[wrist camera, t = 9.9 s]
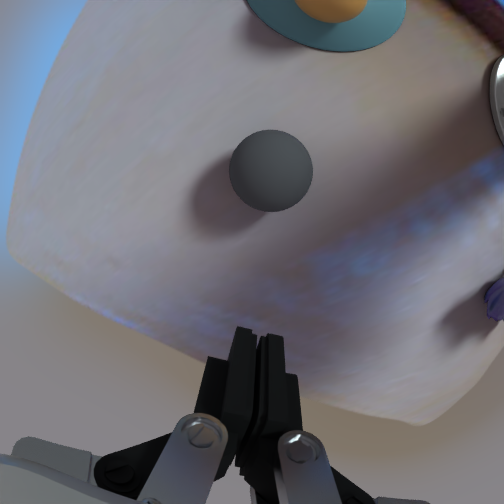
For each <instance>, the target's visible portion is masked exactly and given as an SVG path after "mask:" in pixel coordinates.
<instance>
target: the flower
mask: <svg viewBox="0 0 504 504" xmlns="http://www.w3.org/2000/svg"><path fill="white" fill-rule="evenodd" d="M484 300H485V303H486V302H488V305H487V317H488V319H490V318H491V317H492V318H493V319H494V320H495V321H498V320H502V319H503V321H504V278H501V279H499V280H498V281H497V282H496V283H494V285H493V286H492V287H491V288H490V289H489V290H488V291H487V292H486V294H485V299H484Z"/></svg>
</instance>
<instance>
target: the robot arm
mask: <svg viewBox="0 0 504 504" xmlns="http://www.w3.org/2000/svg"><path fill="white" fill-rule="evenodd" d="M490 104H491V109H492V115H493V119H494V122H495V126H496V129H497V132H498V134H499V137H500V139H501V141H502V143H503V145H504V55H503V56H501V57H499V59H498V60H497V61H496V63H495V64H494V67H493V69H492V73H491V78H490ZM256 346H257V335H255V334H252V330H251V329H247V328H243V327H238V326H237V328H236V331H235V335H234V339H233V342H232V346H231V349H230V353H229V357H228V360H227V361H226V360H222V359H218V358H214V357H210V356H208V359H207V363H206V366H205V371H204V374H203V378H202V382H201V386H200V390H199V394H198V398H197V402H196V406H195V410H194V413H193V414H189V415H186V416H184V417H183V418H181V419H180V420H179V422H178V423H177V425H176V427H175V428H174V430H173V432H172V433H169V434H166V435H164V436H161V437H158V438H156V439H153V440H150V441H148V442H144V443H142V444H139V445H136V446H133V447H130V448H127V449H124V450H121V451H118V452H114V453H111V454H108V455H106V456H104V457H101V456H96V455H92V454H91V452H89V451H84V450H79V449H75V448H71V447H67V446H63V445H59V444H56V443H52V442H48V441H45V440H42V439H38V438H35V437H25V438H21V439H20V440H18V441H17V442H16V444H15V445H14V447H13V450H12V454H11V455H6V454H0V504H205V503H206V500H207V498H208V495H209V492H210V489H211V486H212V484H213V482H214V481H216V480H218V479H220V478H222V477H224V476H225V474H226V471H227V469H228V467H229V465H231V463H232V461H233V459H234V457H235V455H236V458H235V466H236V467H240V475H242V476H244V480H245V481H246V482H247V483H248V484H249V485H250V496H251V504H430V503H428V502H426V501H422V500H408V499H395V498H386V497H377V498H376V499H374V498H372V497H371V496H370V495H369V494H367V493H366V492H365V491H363V490H362V489H361V488H359V487H358V486H356V485H355V484H354V483H352V482H351V481H350V480H348V479H347V478H346V477H344V476H343V475H341V474H340V473H339V472H338V471H336V470H335V469H334V468H333V467H331V466H330V464H329V461H328V458H327V455H326V451H325V448H324V446H323V444H322V442H321V441H320V440H319V439H318V438H317V437H316V436H314V435H313V434H311V433H308V432H306V431H303V428H302V416H301V406H300V396H299V386H298V378H297V375H295V374H289V373H286V372H285V356H284V341H283V336H278V335H274V334H269V333H268V334H267V336H266V337H264V336H261V337H260V340H259V343H258V346H257V349H256Z"/></svg>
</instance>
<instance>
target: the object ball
mask: <svg viewBox="0 0 504 504" xmlns="http://www.w3.org/2000/svg"><path fill="white" fill-rule="evenodd" d="M367 1H368V0H295V2H296V4H297V5H298V6H299V8H300V9H301V10H302V11H303V12H304V13H306V14H307V15H309V16H310V17H312V18H314V19H316V20H319V21H322V22H327V23H341V22H346V21H349V20H351V19H353V18H355V17H357V16H358V15H359V14H360V13H361V12H362V11H363V10H364V8H365V6H366V4H367Z"/></svg>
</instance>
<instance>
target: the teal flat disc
mask: <svg viewBox="0 0 504 504" xmlns="http://www.w3.org/2000/svg"><path fill="white" fill-rule="evenodd" d="M247 1H248V3H249V5H250V6H251V8H252V9H253V11H254V12H255V13H256V14H257V15H258V17H259V18H260V19H261V20H262V21H264V22H265V23H266V24H267V25H268V26H269V27H271V28H272V29H274V30H275V31H277V32H278V33H280V34H282V35H283V36H285V37H287V38H289V39H291V40H293V41H296V42H298V43H301V44H304V45H307V46H310V47H313V48H318V49H322V50H329V51H342V52H347V51H358V50H364V49H368V48H371V47H374V46H376V45H378V44H381V43H383V42H384V41H386V40H387V39H388V38H390V37H391V36H392V35H393V34H394V33H395V32H396V31H397V30H398V28H399V27H400V25H401V23H402V21H403V19H404V15H405V11H406V0H368V1H367V4H366V6H365V8H364V10H363V11H362V12H361V13H360V14H359V15H358V16H357V17H355V18H353V19H351V20H349V21H346V22H341V23H327V22H322V21H319V20H316V19H314V18H312V17H310V16H309V15H307V14H306V13H304V12H303V11H302V10H301V9H300V8H299V6H298V5H297V4H296V2H295V0H247Z"/></svg>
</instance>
